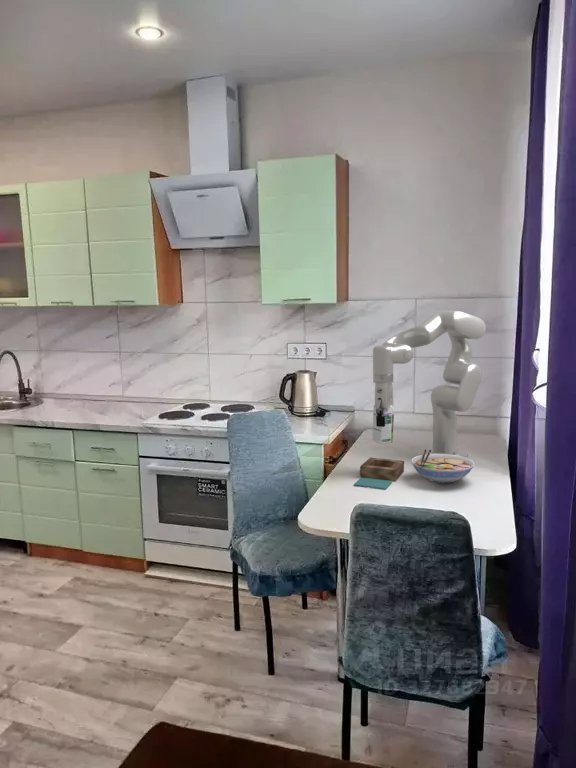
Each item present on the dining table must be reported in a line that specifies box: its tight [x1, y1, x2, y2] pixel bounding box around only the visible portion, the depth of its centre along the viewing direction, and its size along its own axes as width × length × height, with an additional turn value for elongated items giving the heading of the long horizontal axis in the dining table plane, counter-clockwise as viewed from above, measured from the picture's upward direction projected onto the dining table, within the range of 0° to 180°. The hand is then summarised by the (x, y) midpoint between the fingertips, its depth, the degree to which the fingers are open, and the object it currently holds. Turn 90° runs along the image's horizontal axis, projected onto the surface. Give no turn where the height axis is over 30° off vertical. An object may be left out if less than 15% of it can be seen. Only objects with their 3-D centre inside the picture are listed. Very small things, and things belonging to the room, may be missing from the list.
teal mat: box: [353, 477, 393, 491], centre depth 220 cm, size 12×9×1 cm
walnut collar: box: [359, 456, 405, 483], centre depth 231 cm, size 14×14×4 cm
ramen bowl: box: [411, 449, 475, 484], centre depth 223 cm, size 25×23×8 cm
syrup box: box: [371, 403, 395, 445], centre depth 229 cm, size 6×6×14 cm
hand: (383, 423), depth 229 cm, fingers closed on syrup box, 7 cm apart
